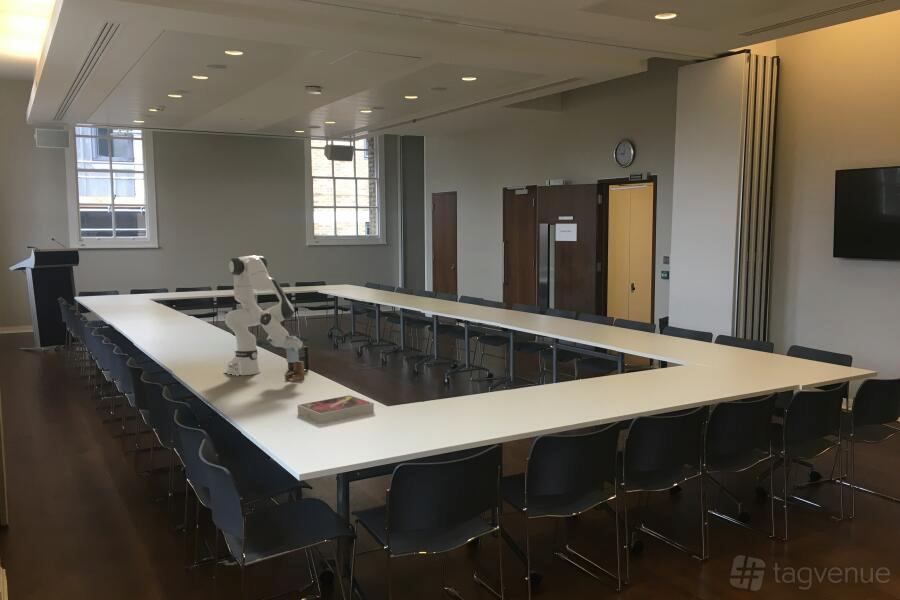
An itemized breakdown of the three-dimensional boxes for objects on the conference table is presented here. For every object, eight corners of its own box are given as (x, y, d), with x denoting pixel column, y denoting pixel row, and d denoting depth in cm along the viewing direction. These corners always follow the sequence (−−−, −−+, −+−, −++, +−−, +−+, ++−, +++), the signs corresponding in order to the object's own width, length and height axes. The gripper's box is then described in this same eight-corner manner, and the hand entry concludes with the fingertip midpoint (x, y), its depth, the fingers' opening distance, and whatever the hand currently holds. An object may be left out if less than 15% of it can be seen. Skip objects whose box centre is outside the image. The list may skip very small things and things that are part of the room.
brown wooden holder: (285, 380, 408) (284, 363, 407) (295, 377, 416) (294, 360, 415) (293, 381, 405) (293, 364, 404) (304, 378, 413) (303, 361, 412)
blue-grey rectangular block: (286, 362, 407) (285, 341, 405) (294, 360, 412) (293, 339, 410) (291, 362, 405) (290, 341, 404) (298, 360, 410) (297, 340, 409)
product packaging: (298, 415, 336) (297, 404, 335) (350, 404, 353) (349, 395, 352) (320, 425, 319) (319, 414, 318) (373, 413, 336) (373, 403, 336)
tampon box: (309, 370, 436) (308, 346, 435) (294, 372, 431) (293, 348, 429) (302, 367, 445) (301, 344, 444) (287, 369, 440) (286, 345, 438)
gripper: (297, 332, 395) (309, 346, 405) (269, 330, 405) (282, 344, 415) (292, 341, 392) (304, 356, 401) (264, 339, 402) (277, 353, 411)
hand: (293, 350), depth 408 cm, fingers closed on blue-grey rectangular block, 3 cm apart
